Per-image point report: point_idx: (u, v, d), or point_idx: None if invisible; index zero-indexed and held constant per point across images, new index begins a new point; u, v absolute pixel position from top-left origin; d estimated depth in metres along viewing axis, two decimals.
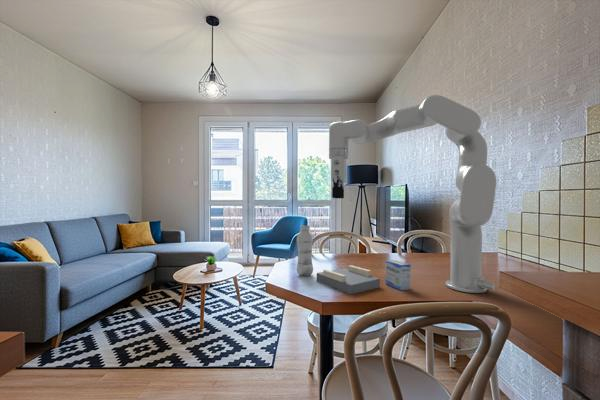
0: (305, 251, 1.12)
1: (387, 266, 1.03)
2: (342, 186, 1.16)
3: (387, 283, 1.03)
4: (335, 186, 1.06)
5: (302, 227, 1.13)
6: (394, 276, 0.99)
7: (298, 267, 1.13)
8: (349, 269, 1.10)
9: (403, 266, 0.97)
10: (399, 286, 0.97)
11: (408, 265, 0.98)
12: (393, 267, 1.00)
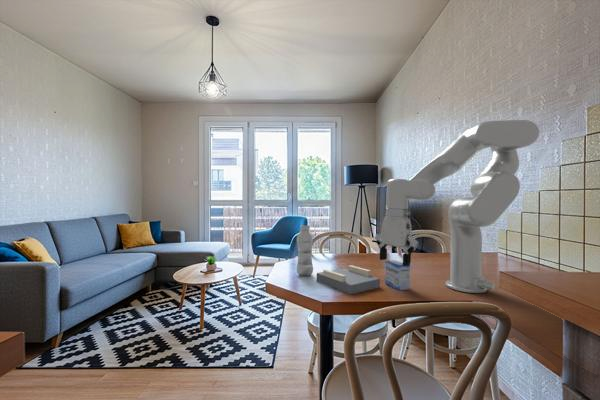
0: (305, 251, 1.12)
1: (386, 266, 1.03)
2: (386, 246, 1.05)
3: (387, 283, 1.03)
4: (409, 253, 0.96)
5: (302, 227, 1.13)
6: (393, 276, 0.99)
7: (298, 267, 1.13)
8: (349, 269, 1.10)
9: (402, 266, 0.97)
10: (398, 286, 0.97)
11: (407, 265, 0.98)
12: (392, 268, 1.00)
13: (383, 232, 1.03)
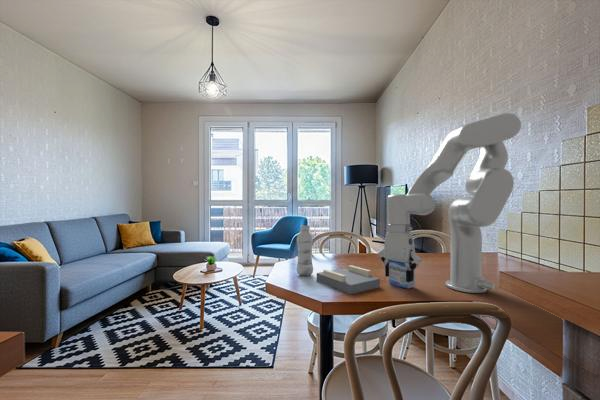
0: (305, 251, 1.12)
1: (390, 266, 1.03)
2: None
3: (391, 283, 1.03)
4: (412, 269, 0.96)
5: (302, 227, 1.13)
6: (399, 275, 1.00)
7: (298, 267, 1.13)
8: (349, 269, 1.10)
9: (409, 264, 0.98)
10: (405, 285, 0.98)
11: None
12: (397, 266, 1.00)
13: (385, 248, 1.03)
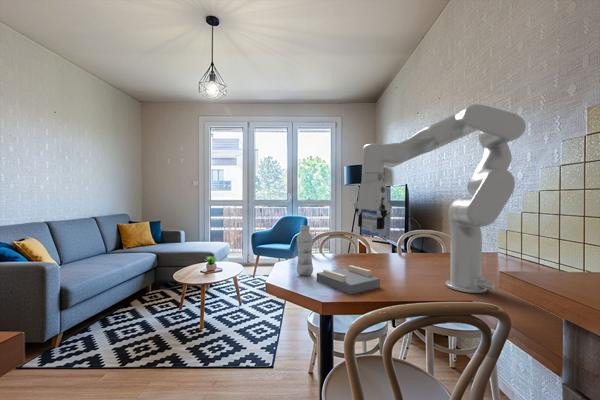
0: (305, 251, 1.12)
1: (363, 215, 1.04)
2: None
3: (363, 232, 1.04)
4: (383, 216, 0.97)
5: (302, 227, 1.13)
6: (370, 223, 1.01)
7: (298, 267, 1.13)
8: (349, 269, 1.10)
9: None
10: (376, 232, 0.99)
11: None
12: (369, 215, 1.02)
13: (359, 198, 1.04)
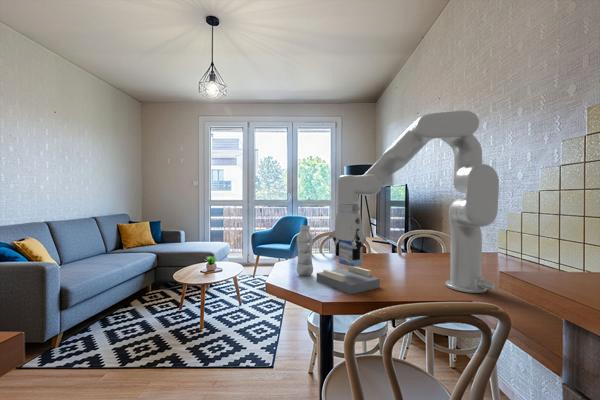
0: (305, 251, 1.12)
1: (340, 245, 1.05)
2: None
3: (340, 262, 1.05)
4: (358, 248, 0.99)
5: (302, 227, 1.13)
6: (347, 254, 1.02)
7: (298, 267, 1.13)
8: (349, 269, 1.10)
9: (356, 243, 1.00)
10: (352, 263, 1.00)
11: None
12: (346, 246, 1.03)
13: (336, 228, 1.05)
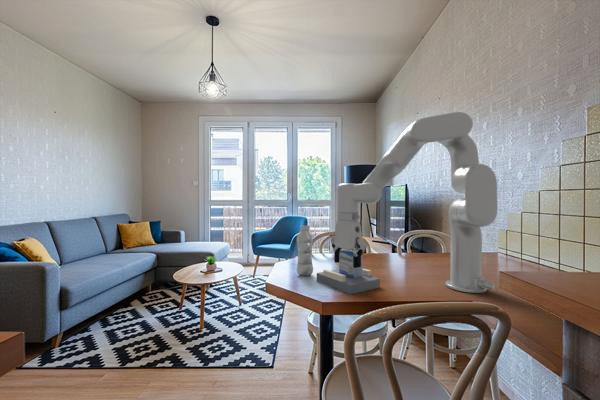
0: (305, 251, 1.12)
1: (340, 256, 1.05)
2: (340, 249, 1.08)
3: (340, 272, 1.05)
4: (359, 255, 0.98)
5: (302, 227, 1.13)
6: (347, 264, 1.02)
7: (298, 267, 1.13)
8: None
9: None
10: (352, 274, 1.00)
11: None
12: (346, 256, 1.03)
13: (335, 236, 1.05)
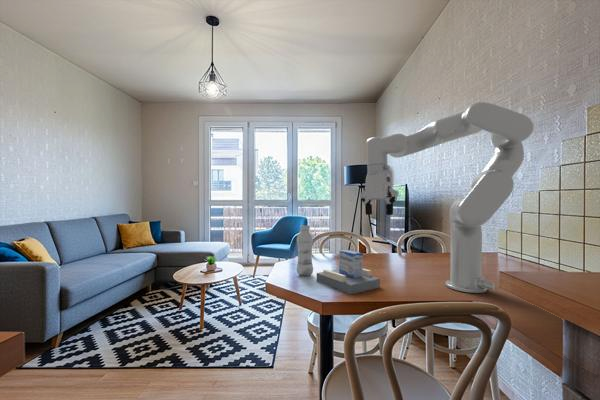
0: (305, 251, 1.12)
1: (340, 256, 1.05)
2: (370, 202, 1.13)
3: (340, 272, 1.05)
4: (391, 203, 1.04)
5: (302, 227, 1.13)
6: (347, 264, 1.02)
7: (298, 267, 1.13)
8: None
9: (356, 255, 1.00)
10: (352, 274, 1.00)
11: (360, 254, 1.02)
12: (346, 256, 1.03)
13: (366, 189, 1.11)
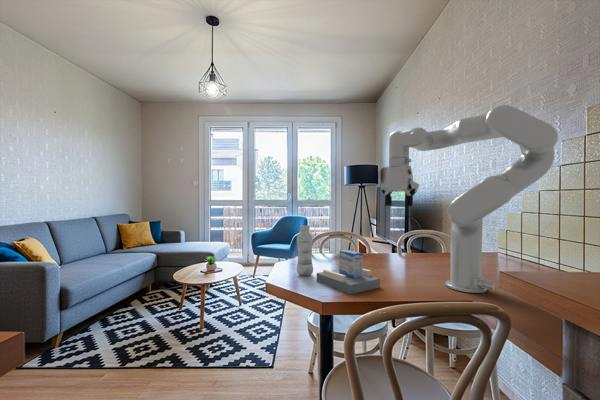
0: (305, 251, 1.12)
1: (340, 256, 1.05)
2: (390, 194, 1.18)
3: (340, 272, 1.05)
4: (411, 195, 1.09)
5: (302, 227, 1.13)
6: (347, 264, 1.02)
7: (298, 267, 1.13)
8: None
9: (356, 255, 1.00)
10: (352, 274, 1.00)
11: (360, 254, 1.02)
12: (346, 256, 1.03)
13: (387, 181, 1.16)
